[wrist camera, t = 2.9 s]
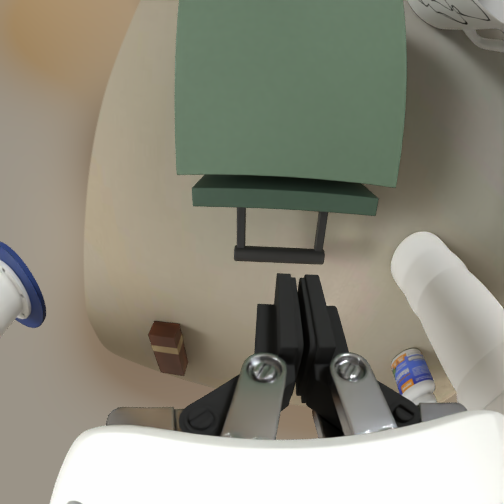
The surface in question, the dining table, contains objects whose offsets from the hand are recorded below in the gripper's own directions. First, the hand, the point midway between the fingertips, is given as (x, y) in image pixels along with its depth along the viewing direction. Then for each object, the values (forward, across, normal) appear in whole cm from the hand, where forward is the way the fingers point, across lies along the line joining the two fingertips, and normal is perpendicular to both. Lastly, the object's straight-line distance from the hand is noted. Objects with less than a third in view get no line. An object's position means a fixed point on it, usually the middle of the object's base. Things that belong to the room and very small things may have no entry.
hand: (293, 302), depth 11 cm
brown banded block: (+15, +13, +21) cm, 29 cm away
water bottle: (+15, -16, +6) cm, 23 cm away
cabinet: (+15, 0, -11) cm, 19 cm away
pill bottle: (+15, -22, +24) cm, 36 cm away
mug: (+15, -16, -22) cm, 31 cm away
